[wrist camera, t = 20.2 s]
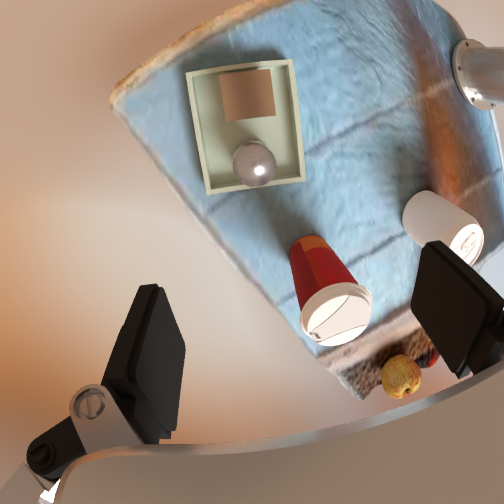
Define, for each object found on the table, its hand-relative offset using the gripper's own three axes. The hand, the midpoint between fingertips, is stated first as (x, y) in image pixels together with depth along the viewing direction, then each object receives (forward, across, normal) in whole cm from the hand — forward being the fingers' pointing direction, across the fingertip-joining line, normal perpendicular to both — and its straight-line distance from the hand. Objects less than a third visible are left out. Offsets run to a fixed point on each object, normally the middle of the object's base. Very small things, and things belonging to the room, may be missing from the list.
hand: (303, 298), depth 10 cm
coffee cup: (+28, -6, +15) cm, 33 cm away
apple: (+28, -26, +47) cm, 61 cm away
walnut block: (+28, 0, -8) cm, 29 cm away
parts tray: (+28, 0, -4) cm, 29 cm away
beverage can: (+28, -26, +11) cm, 40 cm away
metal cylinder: (+28, 0, 0) cm, 28 cm away
